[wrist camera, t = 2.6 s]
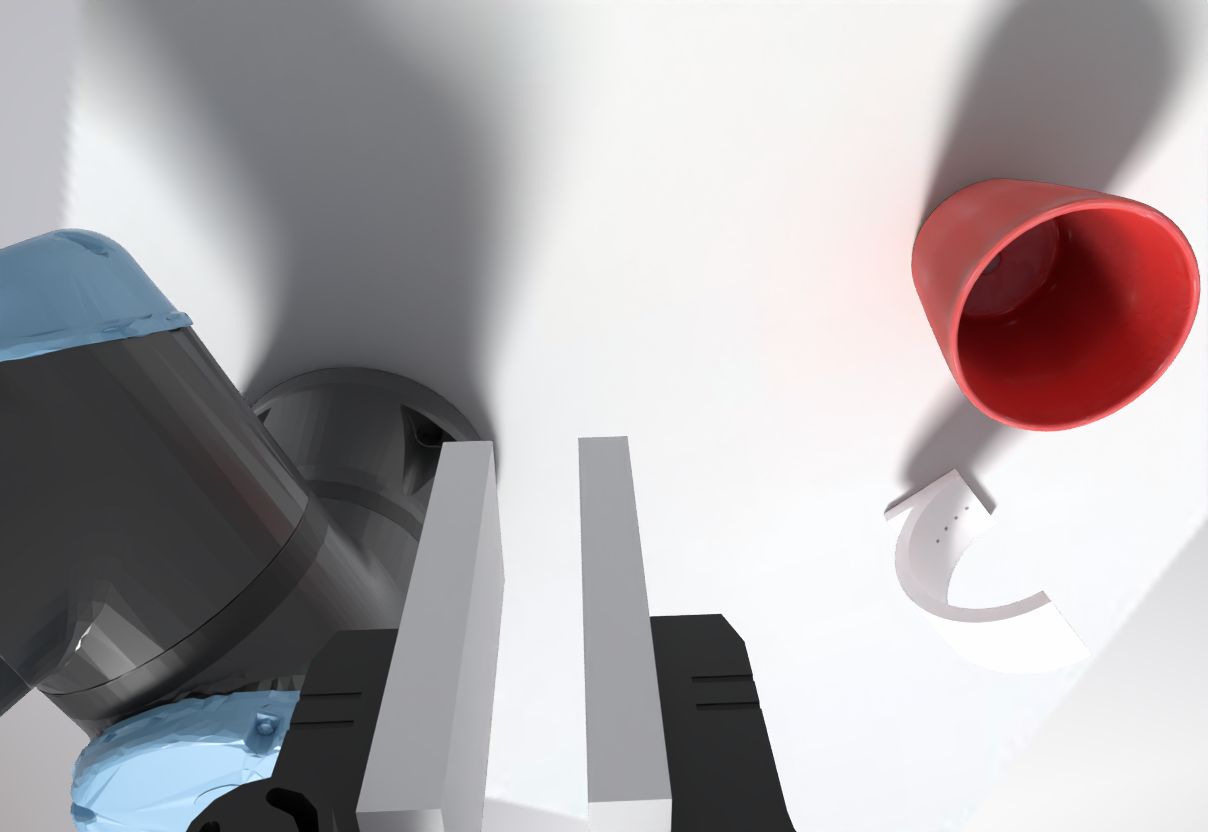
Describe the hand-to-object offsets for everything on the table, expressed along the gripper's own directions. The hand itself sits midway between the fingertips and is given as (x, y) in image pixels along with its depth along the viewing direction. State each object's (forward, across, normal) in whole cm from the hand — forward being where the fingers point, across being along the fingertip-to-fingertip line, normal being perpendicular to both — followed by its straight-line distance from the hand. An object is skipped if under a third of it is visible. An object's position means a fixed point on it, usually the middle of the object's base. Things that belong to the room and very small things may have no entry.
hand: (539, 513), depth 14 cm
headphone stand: (+33, +22, -24) cm, 46 cm away
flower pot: (+33, +22, -7) cm, 40 cm away
